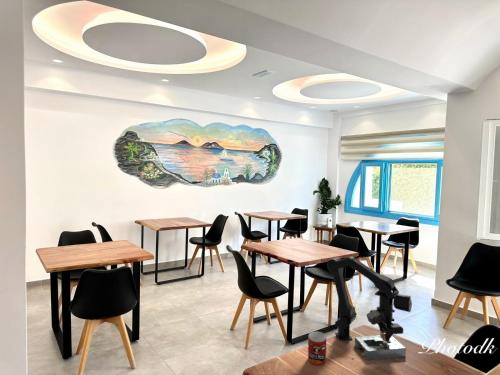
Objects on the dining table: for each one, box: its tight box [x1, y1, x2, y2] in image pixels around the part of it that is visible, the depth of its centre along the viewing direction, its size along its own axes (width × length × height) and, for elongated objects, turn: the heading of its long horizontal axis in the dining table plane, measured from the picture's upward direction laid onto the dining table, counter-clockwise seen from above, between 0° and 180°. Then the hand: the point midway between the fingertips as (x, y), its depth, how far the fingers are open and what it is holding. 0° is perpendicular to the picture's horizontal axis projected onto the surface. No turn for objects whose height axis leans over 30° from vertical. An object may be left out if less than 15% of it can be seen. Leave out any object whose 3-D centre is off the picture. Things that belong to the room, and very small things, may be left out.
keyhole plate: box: [354, 334, 407, 361], centre depth 148 cm, size 12×18×4 cm, turn 98°
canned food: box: [307, 331, 327, 366], centre depth 141 cm, size 8×8×11 cm
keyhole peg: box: [379, 330, 387, 344], centre depth 148 cm, size 4×4×8 cm
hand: (385, 339), depth 148 cm, fingers closed on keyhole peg, 3 cm apart
